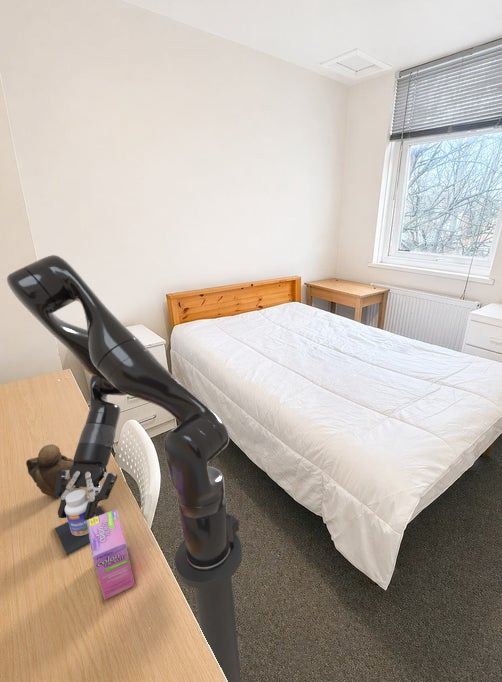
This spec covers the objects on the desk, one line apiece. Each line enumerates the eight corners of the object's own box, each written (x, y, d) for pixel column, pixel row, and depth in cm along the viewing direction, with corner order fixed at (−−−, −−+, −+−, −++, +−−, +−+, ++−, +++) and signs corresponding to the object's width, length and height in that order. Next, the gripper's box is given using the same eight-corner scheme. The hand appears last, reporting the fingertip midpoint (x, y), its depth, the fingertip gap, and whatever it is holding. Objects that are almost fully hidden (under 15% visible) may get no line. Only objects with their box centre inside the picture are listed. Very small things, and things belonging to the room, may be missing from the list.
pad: (100, 507, 90) (99, 505, 90) (115, 529, 83) (114, 527, 83) (55, 529, 83) (54, 528, 83) (67, 555, 77) (66, 554, 77)
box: (136, 585, 71) (125, 542, 66) (104, 601, 68) (91, 557, 63) (126, 548, 78) (116, 508, 74) (98, 561, 76) (85, 519, 71)
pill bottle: (72, 540, 80) (61, 508, 76) (70, 524, 84) (60, 493, 80) (98, 530, 83) (89, 498, 79) (96, 515, 87) (87, 484, 83)
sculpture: (83, 461, 101) (69, 436, 90) (81, 497, 95) (66, 475, 84) (39, 468, 98) (19, 443, 86) (34, 507, 92) (12, 485, 80)
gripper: (57, 439, 83) (32, 516, 77) (116, 442, 82) (95, 521, 76) (77, 445, 90) (56, 516, 84) (131, 448, 89) (114, 520, 83)
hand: (75, 518), depth 80 cm, fingers closed on pill bottle, 5 cm apart
